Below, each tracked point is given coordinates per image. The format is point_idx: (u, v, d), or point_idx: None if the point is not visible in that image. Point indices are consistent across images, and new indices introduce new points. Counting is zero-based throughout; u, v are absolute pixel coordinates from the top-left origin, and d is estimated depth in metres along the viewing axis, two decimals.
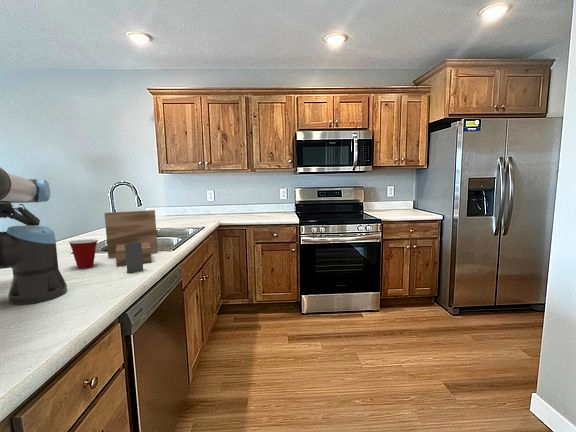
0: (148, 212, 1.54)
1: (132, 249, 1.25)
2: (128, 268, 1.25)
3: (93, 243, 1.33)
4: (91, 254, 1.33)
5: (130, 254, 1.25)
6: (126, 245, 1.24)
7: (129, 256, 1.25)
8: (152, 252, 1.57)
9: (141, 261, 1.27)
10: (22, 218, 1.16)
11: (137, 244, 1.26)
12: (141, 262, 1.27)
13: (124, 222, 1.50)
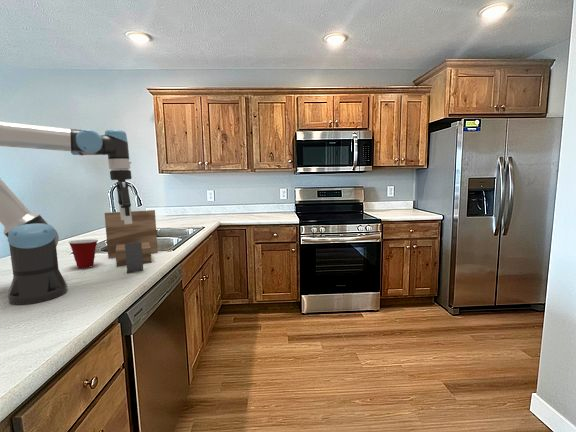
0: (148, 212, 1.54)
1: (132, 249, 1.25)
2: (128, 268, 1.25)
3: (93, 243, 1.33)
4: (91, 254, 1.33)
5: (130, 254, 1.25)
6: (126, 245, 1.24)
7: (129, 256, 1.25)
8: (152, 252, 1.57)
9: (141, 261, 1.27)
10: None
11: (137, 244, 1.26)
12: (141, 262, 1.27)
13: None
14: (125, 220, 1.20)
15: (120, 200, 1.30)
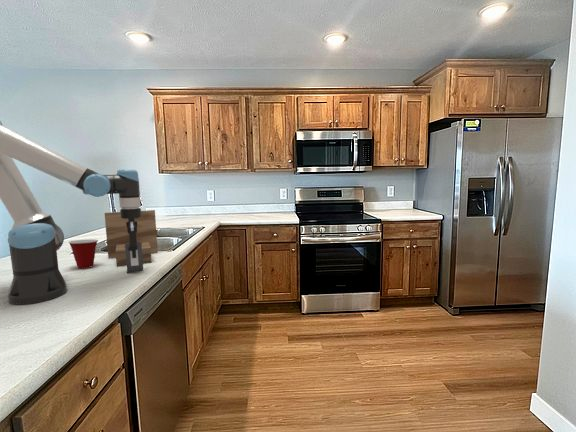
0: (148, 212, 1.54)
1: None
2: (128, 268, 1.25)
3: (93, 243, 1.33)
4: (91, 254, 1.33)
5: None
6: (126, 245, 1.24)
7: (129, 256, 1.25)
8: (152, 252, 1.57)
9: (141, 261, 1.27)
10: None
11: (137, 244, 1.26)
12: (141, 262, 1.27)
13: (124, 222, 1.50)
14: (132, 262, 1.25)
15: None
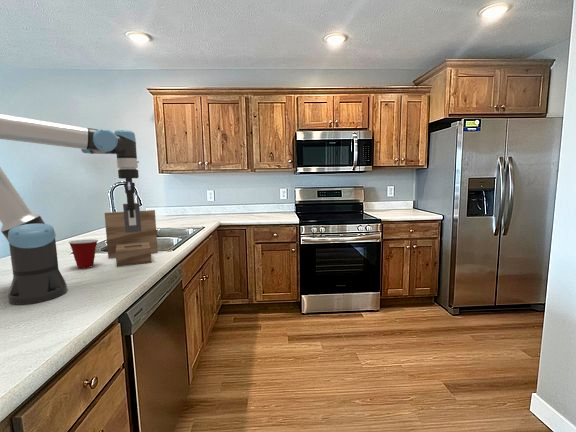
0: (148, 212, 1.54)
1: None
2: (126, 227, 1.29)
3: (93, 243, 1.33)
4: (91, 254, 1.33)
5: None
6: (124, 205, 1.28)
7: None
8: (152, 252, 1.57)
9: (139, 221, 1.31)
10: None
11: (135, 204, 1.29)
12: (139, 222, 1.31)
13: (124, 222, 1.50)
14: (130, 221, 1.29)
15: None
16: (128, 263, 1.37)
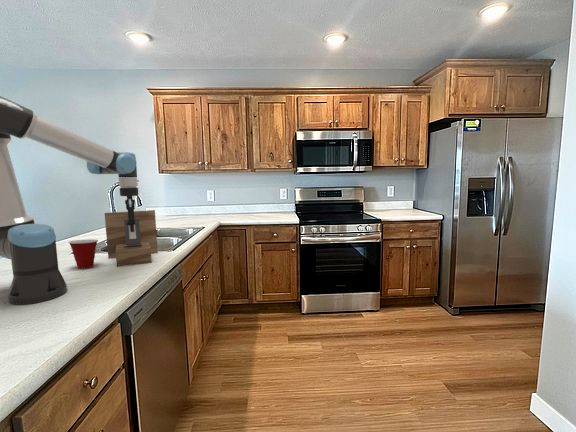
0: (148, 212, 1.54)
1: None
2: (127, 241, 1.40)
3: (93, 243, 1.33)
4: (91, 254, 1.33)
5: None
6: (125, 220, 1.39)
7: (128, 230, 1.40)
8: (152, 252, 1.57)
9: (138, 235, 1.42)
10: None
11: (135, 219, 1.41)
12: (138, 236, 1.42)
13: None
14: (130, 235, 1.40)
15: None
16: (128, 263, 1.37)
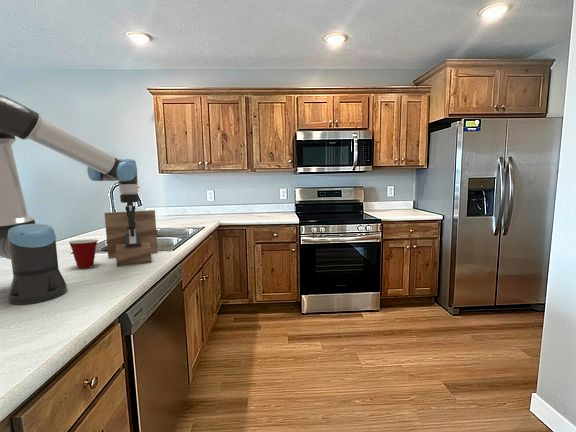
0: (148, 212, 1.54)
1: None
2: None
3: (93, 243, 1.33)
4: (91, 254, 1.33)
5: None
6: (126, 235, 1.39)
7: (129, 245, 1.41)
8: (152, 252, 1.57)
9: None
10: None
11: (136, 235, 1.41)
12: None
13: (124, 222, 1.50)
14: (130, 240, 1.37)
15: None
16: (128, 263, 1.37)
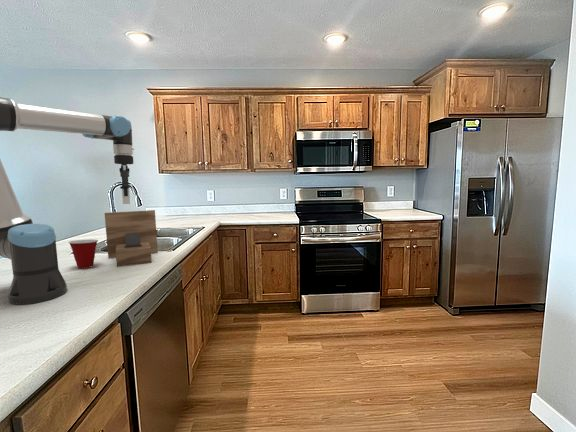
0: (148, 212, 1.54)
1: (131, 238, 1.41)
2: None
3: (93, 243, 1.33)
4: (91, 254, 1.33)
5: (130, 243, 1.41)
6: (126, 235, 1.40)
7: (129, 245, 1.41)
8: (152, 252, 1.57)
9: None
10: None
11: (136, 234, 1.42)
12: None
13: (124, 222, 1.50)
14: (123, 200, 1.32)
15: None
16: (128, 263, 1.37)
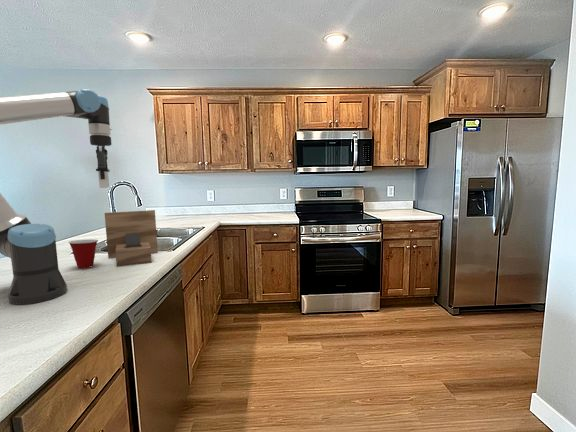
0: (148, 212, 1.54)
1: (131, 238, 1.41)
2: None
3: (93, 243, 1.33)
4: (91, 254, 1.33)
5: (130, 243, 1.41)
6: (126, 235, 1.40)
7: (129, 245, 1.41)
8: (152, 252, 1.57)
9: None
10: None
11: (136, 234, 1.42)
12: None
13: (124, 222, 1.50)
14: (100, 184, 1.22)
15: None
16: (128, 263, 1.37)
